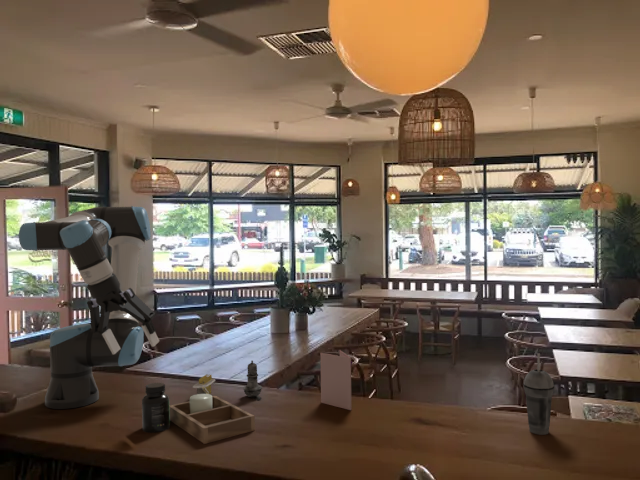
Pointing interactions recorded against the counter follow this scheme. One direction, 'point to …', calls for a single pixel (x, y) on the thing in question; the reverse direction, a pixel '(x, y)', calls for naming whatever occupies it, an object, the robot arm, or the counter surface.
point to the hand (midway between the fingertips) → (136, 347)
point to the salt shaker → (252, 383)
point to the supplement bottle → (155, 409)
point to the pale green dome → (200, 403)
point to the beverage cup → (538, 399)
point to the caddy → (212, 420)
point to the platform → (204, 384)
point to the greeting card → (336, 380)
